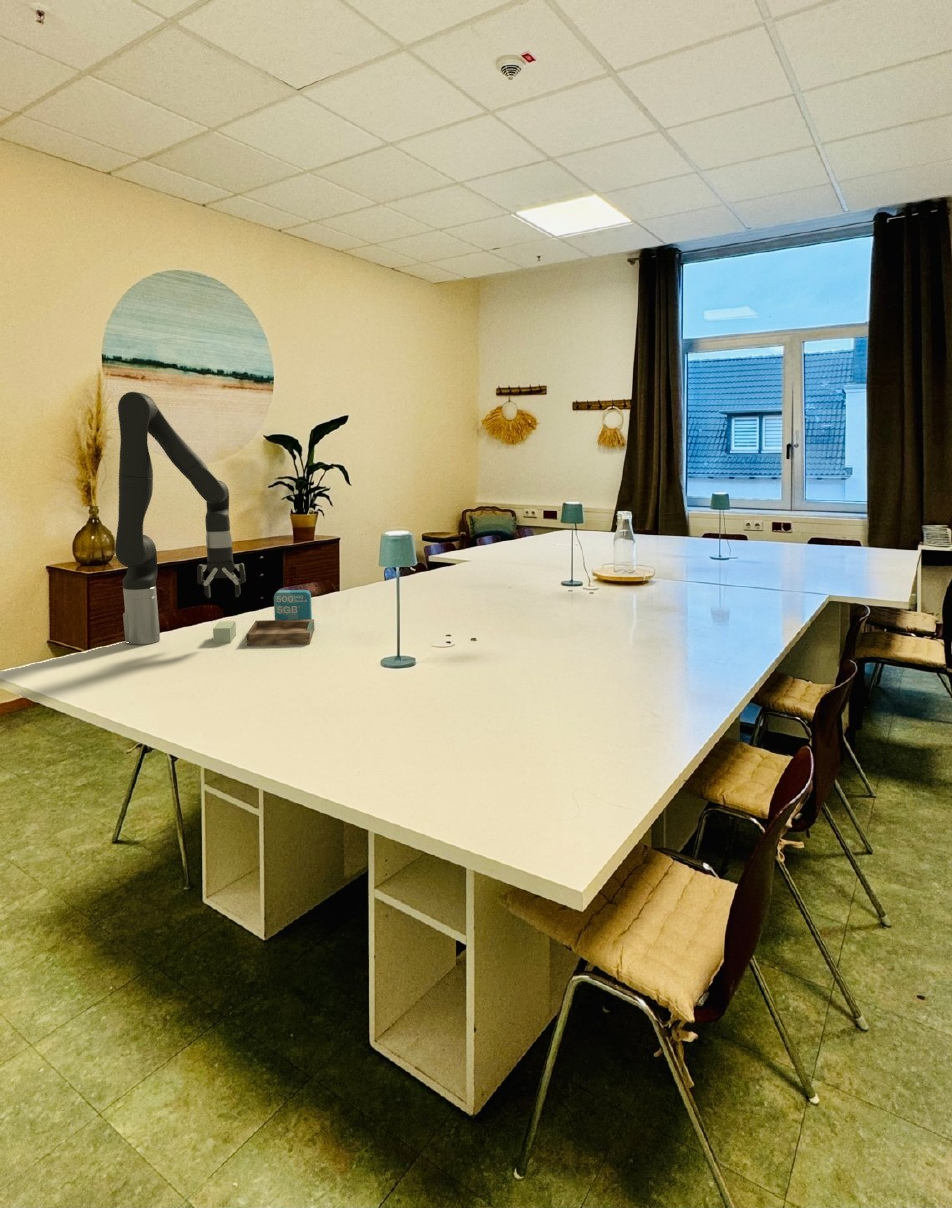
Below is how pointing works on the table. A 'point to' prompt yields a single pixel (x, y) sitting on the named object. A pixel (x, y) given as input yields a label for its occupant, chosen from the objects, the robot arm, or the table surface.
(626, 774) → the table surface
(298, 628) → the shallow wooden tray
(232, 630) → the panel block
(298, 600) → the data package
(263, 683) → the table surface
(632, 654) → the table surface
